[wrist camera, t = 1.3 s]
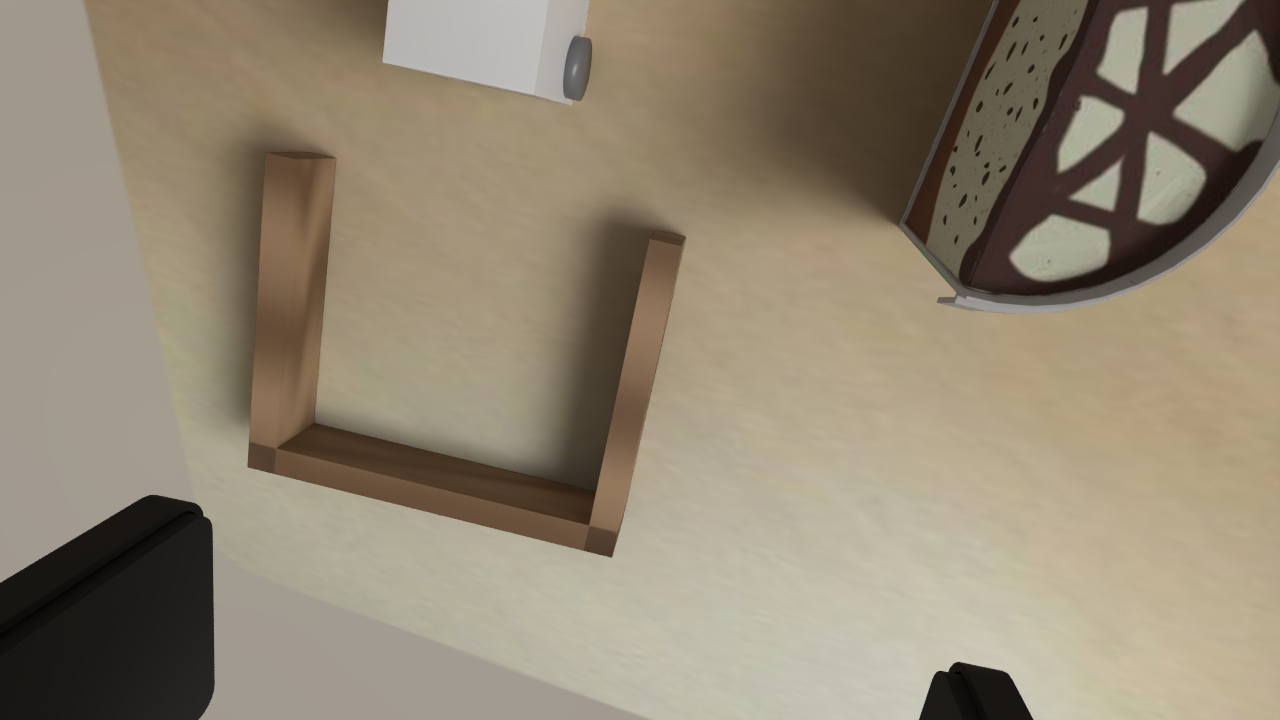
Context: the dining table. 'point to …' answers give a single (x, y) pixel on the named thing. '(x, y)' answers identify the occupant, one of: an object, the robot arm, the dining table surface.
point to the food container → (1097, 148)
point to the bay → (400, 471)
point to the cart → (495, 44)
